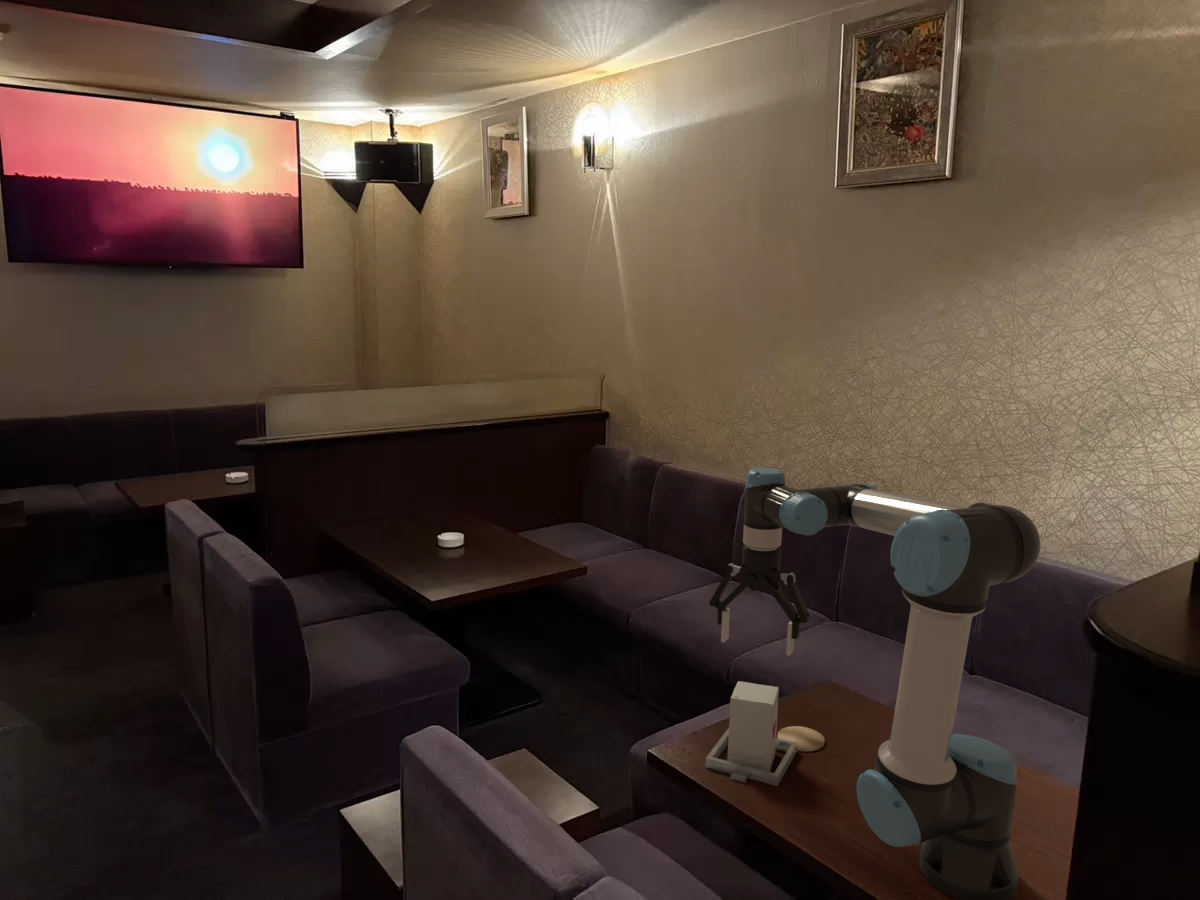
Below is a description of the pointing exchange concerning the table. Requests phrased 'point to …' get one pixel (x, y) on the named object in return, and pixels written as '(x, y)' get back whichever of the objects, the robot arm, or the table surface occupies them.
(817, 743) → the coaster
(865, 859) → the table surface
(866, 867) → the table surface
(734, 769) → the grey frame with tab
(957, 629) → the robot arm
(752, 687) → the supplement box
